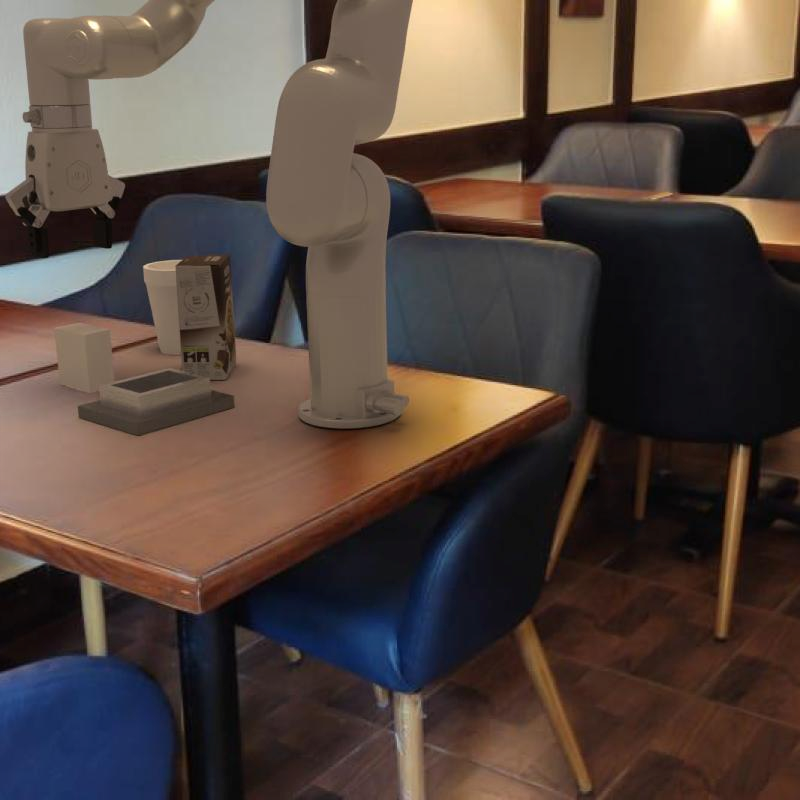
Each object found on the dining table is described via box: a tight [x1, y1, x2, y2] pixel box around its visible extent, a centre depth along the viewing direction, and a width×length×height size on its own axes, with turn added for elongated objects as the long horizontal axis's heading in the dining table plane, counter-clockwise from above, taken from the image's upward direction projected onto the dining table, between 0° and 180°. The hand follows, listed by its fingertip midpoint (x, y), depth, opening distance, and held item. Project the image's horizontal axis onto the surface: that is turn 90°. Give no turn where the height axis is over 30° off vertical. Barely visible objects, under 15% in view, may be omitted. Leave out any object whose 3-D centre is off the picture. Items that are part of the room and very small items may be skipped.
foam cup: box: [142, 259, 183, 356], centre depth 181 cm, size 10×9×13 cm
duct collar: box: [77, 367, 235, 437], centre depth 150 cm, size 12×15×4 cm
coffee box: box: [175, 253, 237, 381], centre depth 167 cm, size 9×6×16 cm
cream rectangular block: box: [54, 322, 115, 394], centre depth 163 cm, size 7×4×8 cm, turn 49°
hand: (72, 252), depth 159 cm, fingers open, 9 cm apart
